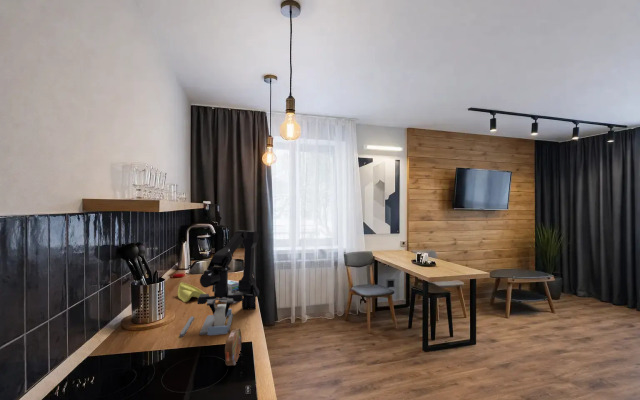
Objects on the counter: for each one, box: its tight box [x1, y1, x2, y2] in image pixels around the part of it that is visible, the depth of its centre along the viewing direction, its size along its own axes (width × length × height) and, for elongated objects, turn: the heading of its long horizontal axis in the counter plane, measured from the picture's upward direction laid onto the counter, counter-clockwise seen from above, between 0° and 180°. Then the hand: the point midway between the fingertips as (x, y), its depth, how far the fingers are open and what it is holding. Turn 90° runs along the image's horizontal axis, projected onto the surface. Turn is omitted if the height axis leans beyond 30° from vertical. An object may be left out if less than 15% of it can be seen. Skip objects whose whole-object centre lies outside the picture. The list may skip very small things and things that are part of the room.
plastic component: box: [176, 282, 207, 303], centre depth 171 cm, size 20×7×10 cm
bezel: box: [207, 308, 233, 336], centre depth 130 cm, size 8×22×3 cm, turn 12°
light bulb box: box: [218, 279, 239, 304], centre depth 163 cm, size 11×7×11 cm, turn 58°
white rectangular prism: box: [213, 303, 228, 326], centre depth 130 cm, size 4×12×6 cm, turn 12°
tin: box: [224, 328, 242, 366], centre depth 100 cm, size 15×3×8 cm, turn 4°
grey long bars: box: [179, 313, 234, 338], centre depth 129 cm, size 19×20×1 cm
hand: (220, 317), depth 130 cm, fingers closed on white rectangular prism, 4 cm apart
